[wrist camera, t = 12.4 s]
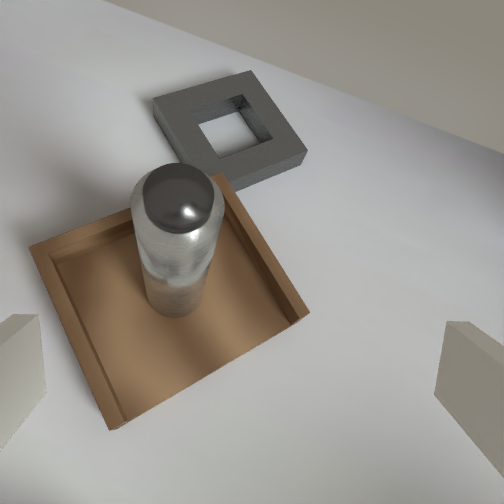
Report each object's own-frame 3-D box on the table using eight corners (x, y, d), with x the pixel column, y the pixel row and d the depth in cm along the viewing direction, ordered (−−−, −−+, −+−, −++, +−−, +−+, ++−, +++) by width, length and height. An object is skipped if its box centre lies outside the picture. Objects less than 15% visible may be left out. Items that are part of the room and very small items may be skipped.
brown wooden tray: (217, 193, 37) (222, 172, 33) (296, 322, 33) (310, 312, 30) (43, 264, 31) (28, 247, 28) (116, 429, 28) (109, 430, 24)
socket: (246, 87, 43) (251, 70, 40) (300, 164, 40) (307, 150, 38) (153, 116, 39) (152, 98, 37) (206, 203, 36) (208, 190, 34)
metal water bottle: (187, 256, 32) (199, 140, 19) (212, 302, 31) (244, 213, 18) (137, 279, 31) (111, 171, 17) (161, 328, 30) (155, 252, 16)
